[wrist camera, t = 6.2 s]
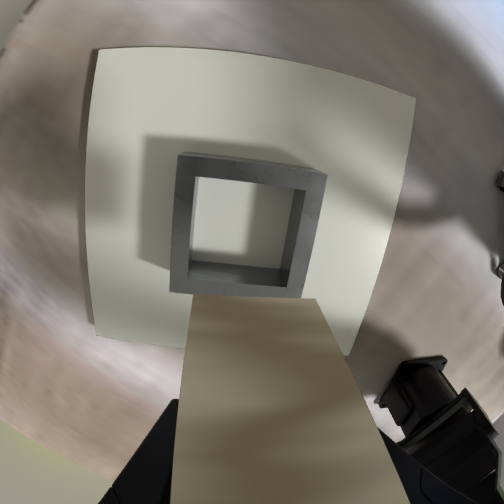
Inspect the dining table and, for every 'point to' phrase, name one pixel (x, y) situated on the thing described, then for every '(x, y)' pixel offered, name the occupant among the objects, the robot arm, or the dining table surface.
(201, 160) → the square socket
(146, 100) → the socket board
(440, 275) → the dining table surface
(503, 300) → the coffee press
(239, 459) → the square peg
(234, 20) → the dining table surface
